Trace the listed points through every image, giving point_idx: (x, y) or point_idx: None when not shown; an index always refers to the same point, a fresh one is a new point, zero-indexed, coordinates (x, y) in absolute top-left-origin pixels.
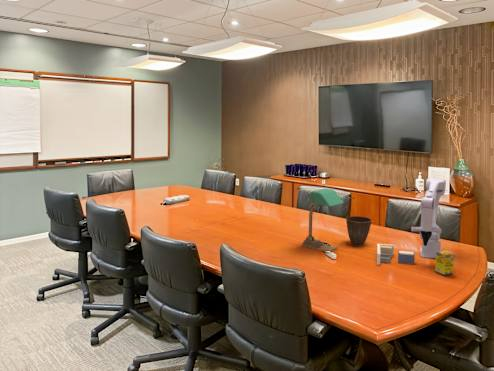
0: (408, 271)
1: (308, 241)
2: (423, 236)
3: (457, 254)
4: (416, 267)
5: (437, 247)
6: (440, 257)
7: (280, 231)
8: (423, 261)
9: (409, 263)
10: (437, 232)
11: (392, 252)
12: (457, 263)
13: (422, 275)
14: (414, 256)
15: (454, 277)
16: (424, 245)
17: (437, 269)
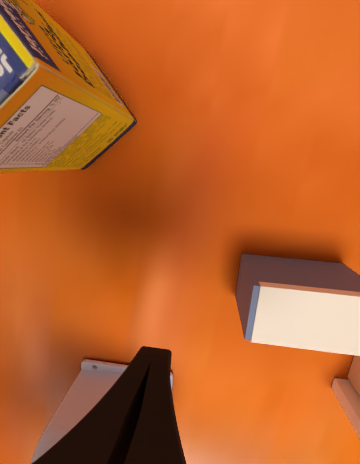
0: (321, 90)
1: None
2: None
3: (5, 420)
4: (239, 194)
5: (64, 430)
6: (28, 18)
7: None
8: (174, 310)
9: (270, 257)
10: None
11: (353, 398)
12: (6, 305)
13: (234, 19)
14: (251, 277)
15: None
16: (165, 350)
17: (114, 96)
